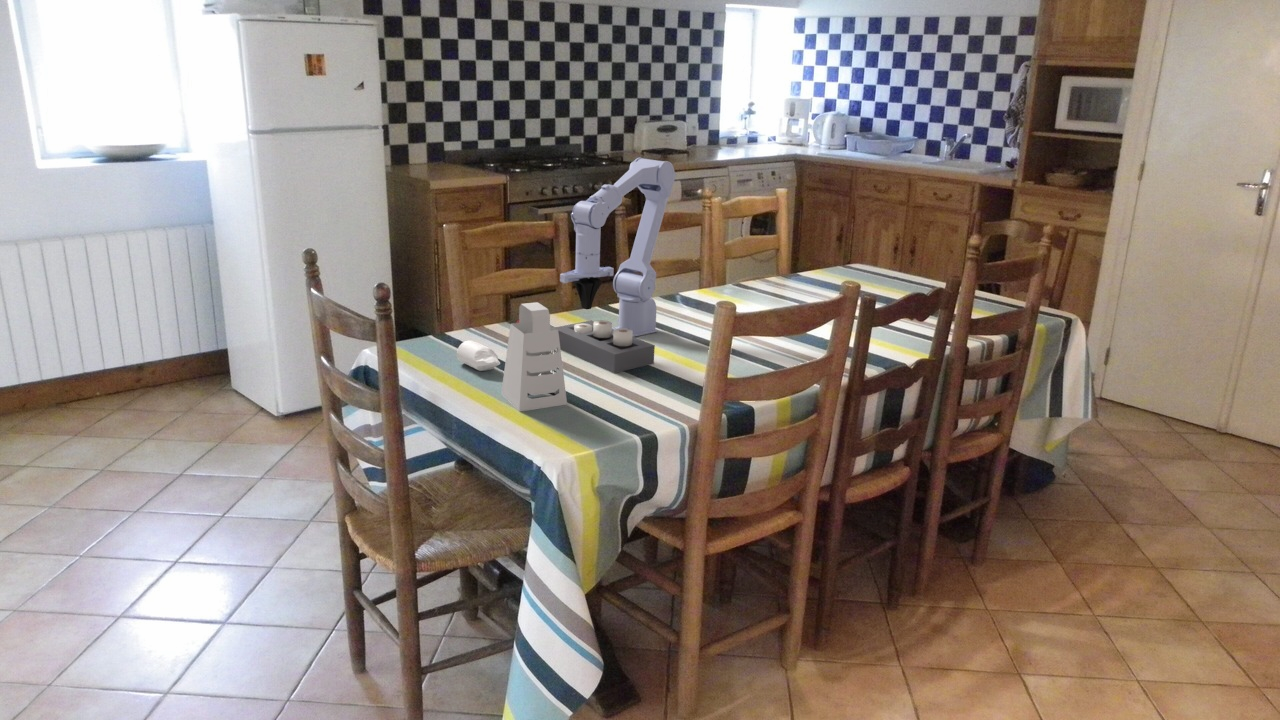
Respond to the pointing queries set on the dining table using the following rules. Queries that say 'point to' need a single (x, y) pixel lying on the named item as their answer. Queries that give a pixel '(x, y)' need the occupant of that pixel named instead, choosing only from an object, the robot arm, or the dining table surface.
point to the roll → (477, 356)
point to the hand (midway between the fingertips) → (586, 308)
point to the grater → (533, 361)
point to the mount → (605, 349)
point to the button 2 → (622, 337)
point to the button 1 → (582, 328)
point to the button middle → (602, 329)
